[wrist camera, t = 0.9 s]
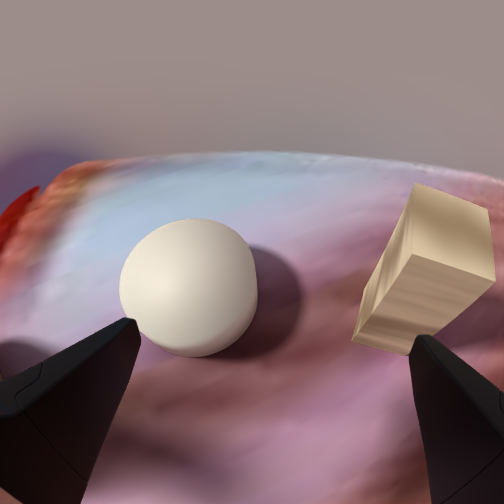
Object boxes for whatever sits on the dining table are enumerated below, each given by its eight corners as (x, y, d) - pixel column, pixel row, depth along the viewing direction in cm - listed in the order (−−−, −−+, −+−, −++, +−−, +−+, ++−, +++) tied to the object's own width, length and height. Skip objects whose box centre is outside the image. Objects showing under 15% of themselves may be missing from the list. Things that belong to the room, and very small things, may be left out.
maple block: (405, 355, 22) (495, 281, 11) (351, 341, 23) (412, 253, 13) (414, 304, 25) (487, 209, 14) (364, 289, 26) (415, 182, 15)
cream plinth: (284, 308, 25) (285, 287, 22) (173, 381, 22) (155, 371, 19) (215, 226, 31) (208, 199, 27) (120, 283, 28) (102, 262, 24)
